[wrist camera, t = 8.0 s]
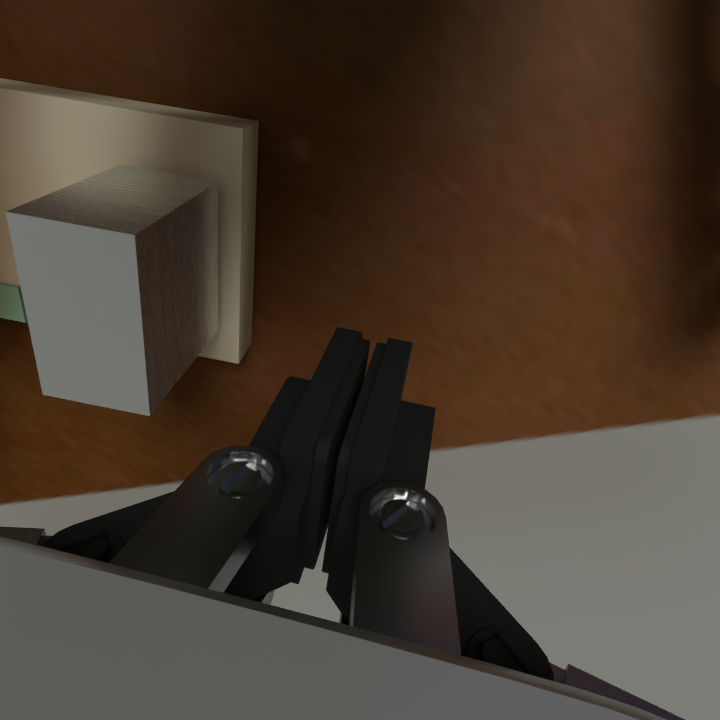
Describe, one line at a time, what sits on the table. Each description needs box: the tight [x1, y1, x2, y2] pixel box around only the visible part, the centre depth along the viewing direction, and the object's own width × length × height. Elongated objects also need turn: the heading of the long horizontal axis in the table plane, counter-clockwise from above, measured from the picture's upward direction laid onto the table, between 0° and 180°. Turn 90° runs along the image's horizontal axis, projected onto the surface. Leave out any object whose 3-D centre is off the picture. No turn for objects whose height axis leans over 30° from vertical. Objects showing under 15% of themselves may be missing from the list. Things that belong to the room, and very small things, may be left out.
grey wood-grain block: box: [5, 165, 219, 416], centre depth 16 cm, size 3×5×5 cm, turn 173°
